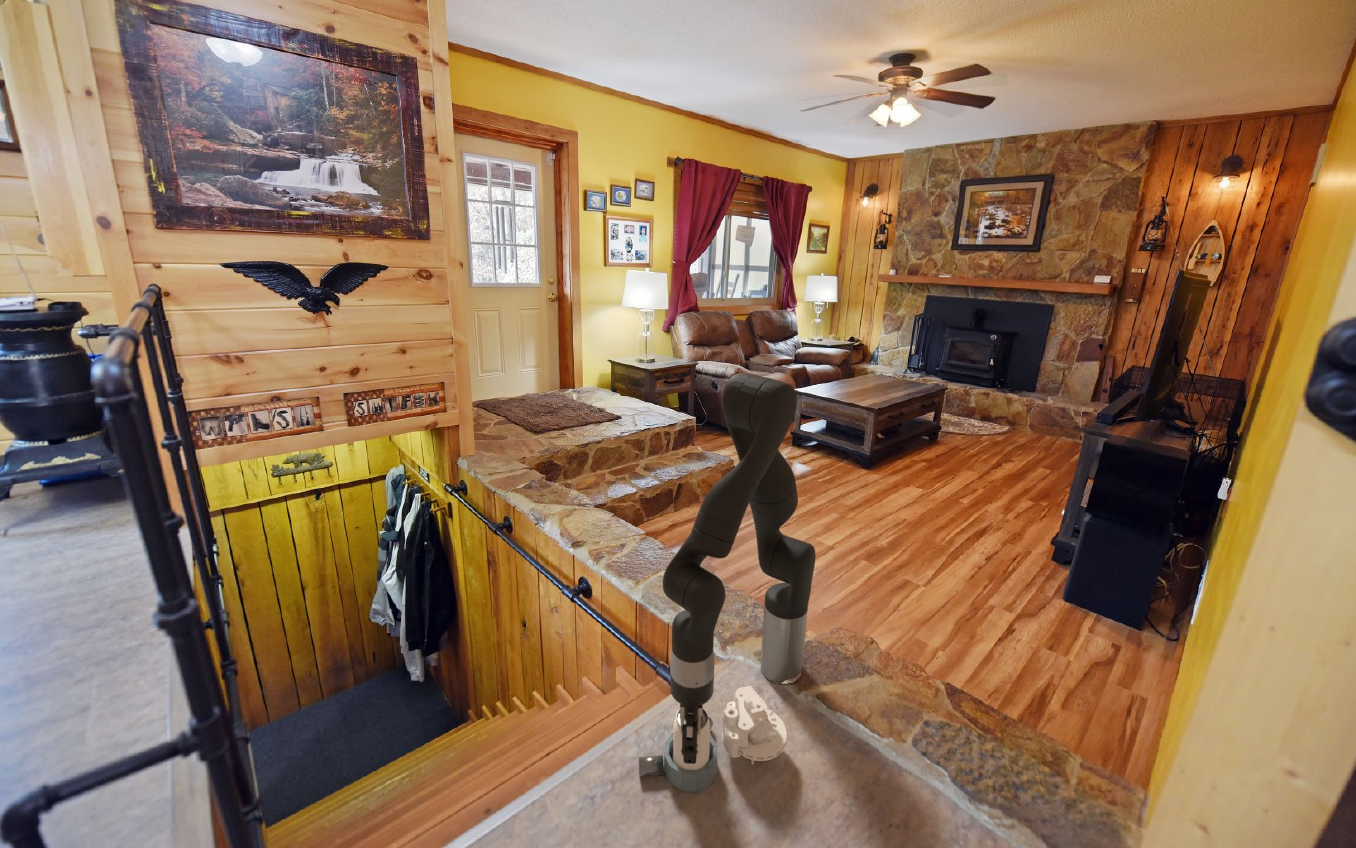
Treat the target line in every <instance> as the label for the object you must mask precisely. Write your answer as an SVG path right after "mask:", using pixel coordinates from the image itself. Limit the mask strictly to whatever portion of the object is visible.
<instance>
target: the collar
mask: <svg viewBox="0 0 1356 848" xmlns="http://www.w3.org/2000/svg"><path fill="white" fill-rule="evenodd" d="M663 752H664V753H663V764H664V775H665V777H666V779H667V782H668V783H669V784H670V785H671V786H672V787H673V788H674V789H676V790H678V791H680V792H683V793H685V794H686V793H687V794H696V793H701V792H703V791H705V790H706V789H708V788H709V787H710V786H711V785H712V784H713V783H714V781H715V779H716V777H717V773H718V744H717V742H716V740H714V738H713V736H712V734H710V748H709V763H708V765H707V766H705V767H703V768H701V769H698V770H696V771H695V770H683V769H682V768H680V767H679V766H677V765H675V764H674V731H673V732H672V733H671V735H670V736H669V737H668V739H667V740H666V741H665V743H664V751H663Z"/></svg>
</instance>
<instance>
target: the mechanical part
mask: <svg viewBox="0 0 1356 848" xmlns="http://www.w3.org/2000/svg"><path fill="white" fill-rule="evenodd" d="M734 696H735V697H734V701H728V702H727V703H726V708H724V710H723V717H722V726H721V727H722V728H721V738H722V743H723V747H724V750H725V751H726V753H727V754H728V755H729V756H731V757H732V758H733V759H734V758H740V757H741V756H742V757H743V758H745V759H748V760H751V763H750V764H751V765H755V762H764V761H766V762H767V761H770V760H773V759H775V758H777V757H778V756H779V755H781V754H782V753H783V751H784V749H785V747H786V744H787V737H788V736H787V729H786V725H785V723H784V722H783V720H782V719H781V718H780V716H779V715H777V713H775V712H774V711H773V710H771V709H768V705H767V704H766V702H765V701H764V700H763V699H762V698H761V696H760V695H759V694H758V693H757V691H755V689H754V688H753V687H752V686H751V685H746V686H742V687H739V688H737V690H736V691H735V693H734Z"/></svg>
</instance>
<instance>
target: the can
mask: <svg viewBox="0 0 1356 848" xmlns="http://www.w3.org/2000/svg"><path fill="white" fill-rule="evenodd" d="M708 717H709V716H708V713H707V711H706V710H705V709H704V708H703V713H702V716H701V730H700V734H699V735H698V736H697V744H698V747H697V750H698V753H697V756H696V763H695V764H688V763H684V761H683V755H682V753H681V749H682V733H681V731H680V729H681V715H680V708H679V709H678V710H677V713H676V715H675V718H674V720H673V732H674V764H675V765H677V766H679V767H680V768H682V769H683V770H695V771H696V770H698V769H701V768H703V767H705V766H707V765H708V763H709V748H710V735H711V731H710V722H709V719H708ZM684 724H687V723H686V722H685V719H684ZM693 725H697V726H698V718H697V722H696V723H695V724H693Z"/></svg>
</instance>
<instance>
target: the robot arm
mask: <svg viewBox="0 0 1356 848" xmlns="http://www.w3.org/2000/svg"><path fill="white" fill-rule="evenodd" d="M723 388H724V389H723V391H722V392H723V393H722V396H721V397H722V398H721V407H722V414H723V419H724V421H725V424H726V427H727V429H728V433H729V435H730V437H731V440H732V442H733V445H734V448H735V450H736V453H737V456H738V457H737V458H738V460H739V462H737V464H736V465H735V466H734V467H732V469H730V471H729V472H727V473H726V474H725V475H723V477H721V478H720V479H719V480H718V481H717V482H716V483H714V485H713V486H712V487H711V488H710V489H709V491H708V492H707V493H706V495H705V496H704V498H703V500H702V503H701V505H700V506H699V507H700V508H698V509H699V510H698V512H697V515H696V518H695V520H694V523H693V526H692V529H691V532H690V534H688V537H687V538H686V539H685V541H684V542H683V544H682V545H681V547H679V550H678V551H677V552H676V553H675V555H674V556H673V558H672V559H671V561H670V562H669V563H668V565H667V566H666V568H665V570H664V574H663V578H662V590H663V593H664V595H665V596H666V597H667V598H668V599H669V600H670V601H672V602H673V603H674V604H676V605H678V606H679V607H681V608H682V609H684V610H682V611H680V612H679V613H677V614H676V615H675V617H674V618H673V620H672V623H671V624H672V625H671V653H670V659H669V664H670V665H669V666H670V672H669V673H670V674H669V675H670V676H669V679H670V683H669V684H670V685H669V686H670V687H669V690H670V694H671V696H672V698H673V699H674V700H675V701H676V702H677V703H678V704H679V709H680V715H681V729H680V731H681V733H682V749H681V753H682V755H683V761H684V763H688V764H695V763H696V756H697V753H698V750H697V747H698V744H697V736H698V735H699V734H700V730H701V716H702V713H703V709H704V708H703V706H704V704H706V703H708V702H709V701H710V699H712V697H713V693H714V690H715V689H714V686H715V653H714V641H715V640H714V639H715V637H714V636H715V629H716V626H717V623H718V619H719V617H720V614H721V612H722V609H723V607H724V604H725V601H726V588H725V585H724V583H723V581H722V580H721V578H719V576H717V575H715V574H714V573H713V572H710V570H707V569H706V568H704V567H703V566H701V565H702V563H703V561H704V560H705V559H706V558H707V557H709V558H710V557H711V558H713V559H714V558H715V559H725V558H727V557H728V556H729V554H730V552H731V551H732V548H733V545H734V544H735V541H736V538H737V536H738V535H737V534H738V532H739V529H740V528H741V525H742V522H743V518H744V516H745V514H746V512H747V509H748V506H750V509H751V515H752V518H753V523H754V529H755V534H756V535H755V537H756V545H757V557H758V563H759V567H760V570H761V572H763V573H764V574H765V575H767V576H768V577H770V578H772V579H776V580H778V581H781V582H779V583H776V584H772V585H771V586H770V587H768V588H767V590H766V591H765V594H764V605H763V606H764V607H763V608H764V609H763V620H762V621H763V625H762V637H761V639H762V640H761V653H760V664H761V667H760V671H761V670H762V671H761V673H762V674H763V676H764V677H765V678H766V679H767V680H769V681H770V682H773V683H775V684H778V685H780V684H779V683H782V682H784V681H785V680H788V679H792V678H795V677H797V676H798V675H799V674H800V673H801V670H802V671H803V662H804V661H803V660H804V652H805V643H806V642H805V641H806V631H807V623H808V621H807V619H808V610H809V602H810V597H811V593H812V584H813V578H814V571H815V566H816V556H817V555H816V549H815V547H814V545H813V544H811V543H810V542H807V541H803V540H800V539H798V538H794V537H791V536H789V535H788V536H787V535H786V534H783V533H782V531H781V530H780V528H781V527H782V526H783V525H784V524H786V523H787V522H788V521H789V520H790V519H791V518H792V517H793V515H794V513H795V512H796V510H797V507H798V506H799V505H798V504H799V496H798V489H797V482H796V477H795V474H794V471H793V469H792V467H791V465H790V464H789V463H788V461H787V460H786V458H785V457H784V455H783V454H782V453H781V452H780V450H779V449H780V447H781V445H782V443H783V441H784V439H785V437H786V436H787V434H788V432H789V429H790V428H791V425H792V423H793V420H794V417H795V415H796V411H797V405H798V396H797V392H796V389H795V387H794V386H792V384H790V383H788V382H785V381H782V380H779V379H775V378H771V377H766V376H764V375H763V376H762V375H758V374H754V373H749V372H739V373H736V374H734V375H732V376H731V377H730V378H728V380H727V381H726V384H725V386H724V387H723ZM801 674H802V673H801ZM697 718H698V726H697V725H693V724H695V723H696V722H697ZM684 719H685V722H686V723H687V724H684Z"/></svg>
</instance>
